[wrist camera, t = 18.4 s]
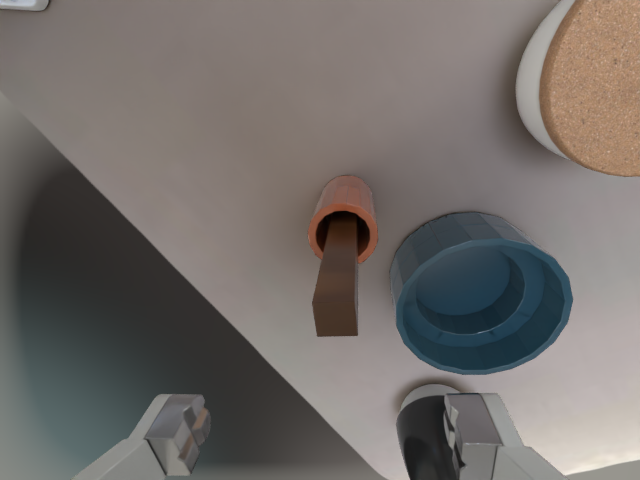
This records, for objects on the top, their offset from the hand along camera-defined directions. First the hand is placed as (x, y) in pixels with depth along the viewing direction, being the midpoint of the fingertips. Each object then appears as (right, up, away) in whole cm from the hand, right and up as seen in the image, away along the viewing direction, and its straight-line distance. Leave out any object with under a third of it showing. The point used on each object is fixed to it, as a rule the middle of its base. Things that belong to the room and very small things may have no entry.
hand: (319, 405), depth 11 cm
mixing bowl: (+15, +2, +23) cm, 27 cm away
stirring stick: (+3, +9, +21) cm, 23 cm away
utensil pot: (+3, +10, +21) cm, 23 cm away
